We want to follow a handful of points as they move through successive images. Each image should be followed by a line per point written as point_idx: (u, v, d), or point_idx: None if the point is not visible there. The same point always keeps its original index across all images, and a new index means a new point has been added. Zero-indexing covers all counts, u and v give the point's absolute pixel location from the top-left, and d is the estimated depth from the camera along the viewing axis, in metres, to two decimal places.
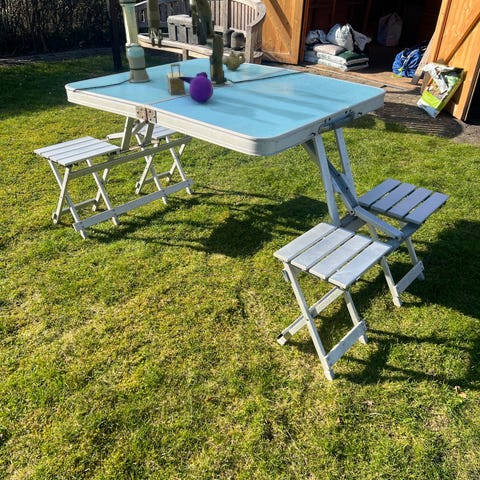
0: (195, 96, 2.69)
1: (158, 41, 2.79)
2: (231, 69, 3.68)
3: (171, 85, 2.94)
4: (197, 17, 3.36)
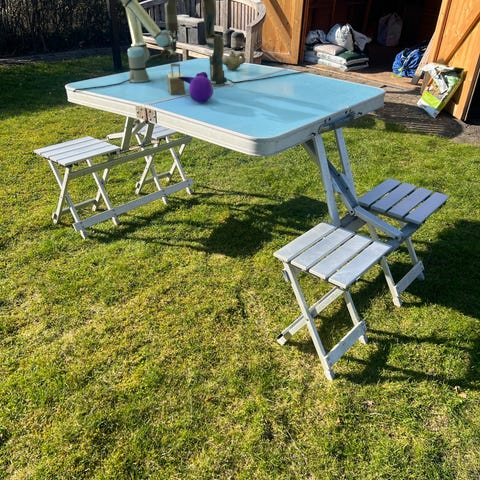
0: (195, 96, 2.69)
1: (173, 44, 2.80)
2: (231, 69, 3.68)
3: (171, 85, 2.94)
4: None
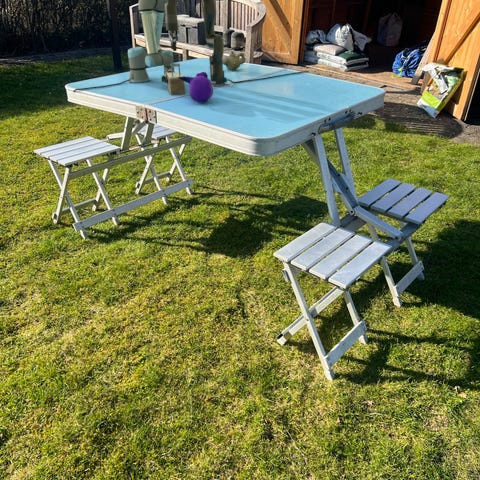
0: (195, 96, 2.69)
1: (173, 44, 2.80)
2: (231, 69, 3.68)
3: (171, 85, 2.94)
4: None
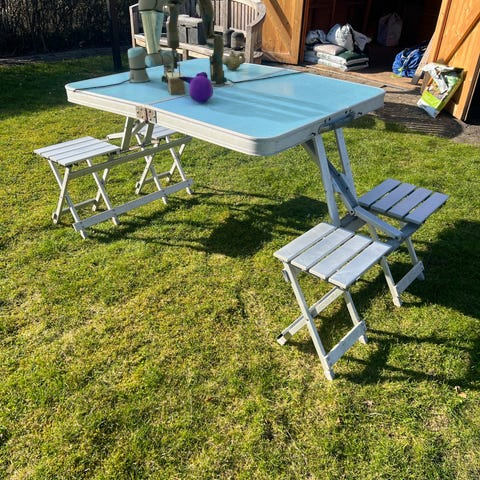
0: (195, 96, 2.69)
1: (174, 62, 2.88)
2: (231, 69, 3.68)
3: (171, 85, 2.94)
4: None
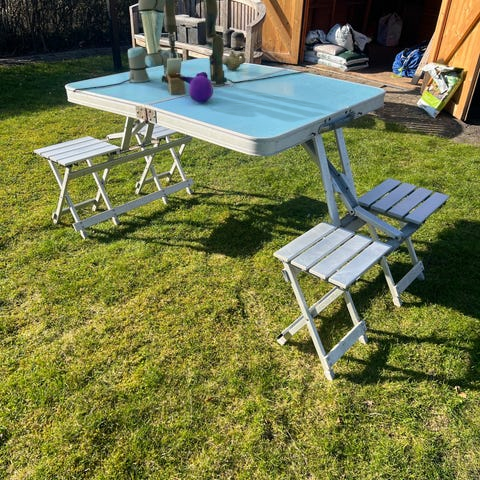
0: (195, 96, 2.69)
1: (171, 47, 2.91)
2: (231, 69, 3.68)
3: (171, 85, 2.94)
4: None
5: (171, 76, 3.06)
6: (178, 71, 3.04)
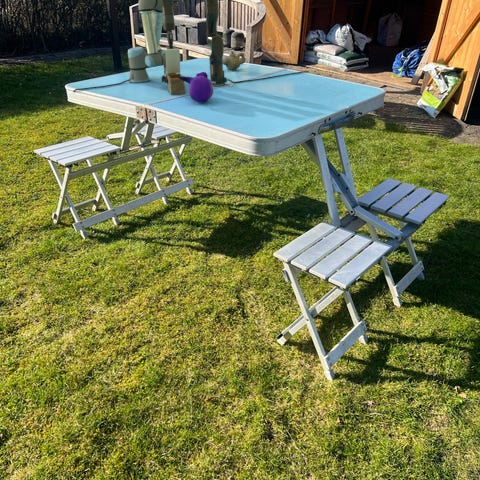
0: (195, 96, 2.69)
1: None
2: (231, 69, 3.68)
3: (171, 85, 2.94)
4: None
5: (171, 76, 3.06)
6: (178, 69, 3.05)
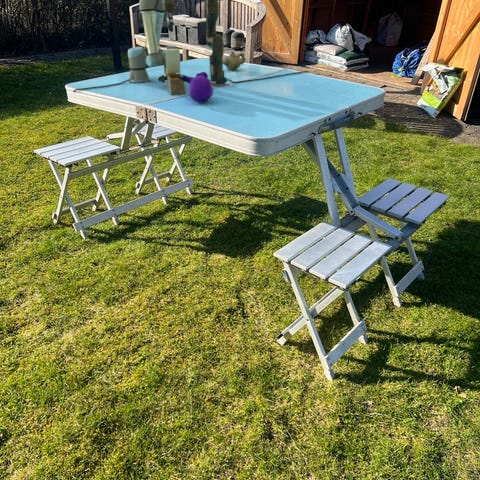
0: (195, 96, 2.69)
1: None
2: (231, 69, 3.68)
3: (171, 85, 2.94)
4: None
5: (171, 76, 3.06)
6: (178, 70, 3.04)
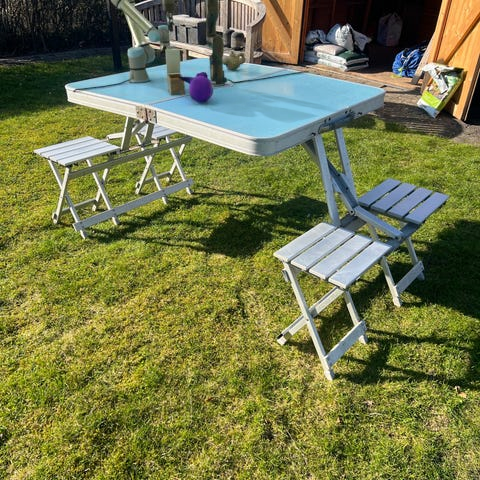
0: (195, 96, 2.69)
1: None
2: (231, 69, 3.68)
3: (171, 85, 2.94)
4: None
5: (171, 76, 3.06)
6: (178, 70, 3.04)
